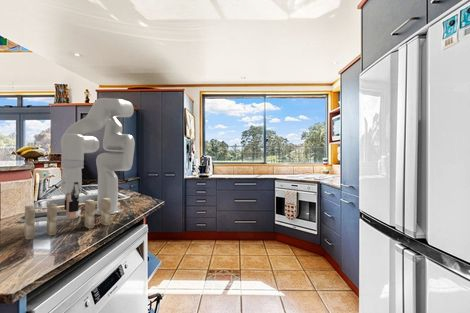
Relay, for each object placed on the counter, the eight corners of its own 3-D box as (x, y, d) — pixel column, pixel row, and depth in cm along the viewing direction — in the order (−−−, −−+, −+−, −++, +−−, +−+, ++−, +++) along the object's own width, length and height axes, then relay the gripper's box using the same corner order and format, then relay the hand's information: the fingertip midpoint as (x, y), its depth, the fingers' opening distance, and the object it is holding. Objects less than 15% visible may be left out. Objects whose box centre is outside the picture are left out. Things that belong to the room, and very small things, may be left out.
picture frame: (20, 224, 109) (75, 220, 117) (20, 217, 109) (75, 214, 117) (32, 216, 123) (80, 213, 131) (32, 210, 123) (81, 208, 131)
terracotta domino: (71, 214, 101) (72, 187, 101) (75, 216, 97) (76, 188, 98) (66, 215, 99) (66, 188, 99) (69, 217, 96) (70, 189, 96)
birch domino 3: (89, 225, 106) (90, 199, 106) (94, 227, 102) (94, 200, 102) (84, 226, 104) (85, 200, 104) (88, 228, 101) (89, 201, 101)
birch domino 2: (52, 231, 96) (53, 203, 96) (56, 234, 93) (57, 204, 93) (46, 232, 94) (47, 203, 95) (49, 235, 91) (50, 205, 91)
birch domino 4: (105, 222, 111) (106, 197, 111) (110, 224, 107) (110, 199, 107) (101, 223, 109) (101, 198, 109) (105, 225, 106) (106, 199, 106)
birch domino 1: (31, 235, 91) (32, 205, 91) (34, 238, 88) (35, 207, 88) (24, 236, 90) (25, 206, 90) (26, 239, 86) (27, 208, 86)
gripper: (55, 164, 102) (54, 208, 101) (68, 165, 90) (66, 215, 90) (76, 164, 107) (75, 206, 107) (90, 165, 96) (89, 212, 95)
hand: (71, 210), depth 98 cm, fingers closed on terracotta domino, 4 cm apart
